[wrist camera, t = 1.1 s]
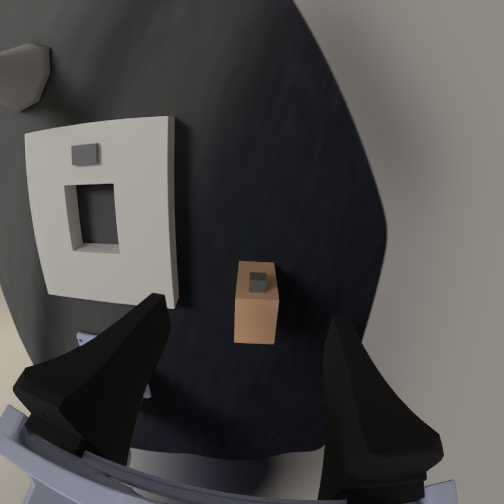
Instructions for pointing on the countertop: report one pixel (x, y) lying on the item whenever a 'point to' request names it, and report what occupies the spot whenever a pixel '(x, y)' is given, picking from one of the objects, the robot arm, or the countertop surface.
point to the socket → (126, 204)
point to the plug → (256, 303)
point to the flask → (23, 75)
